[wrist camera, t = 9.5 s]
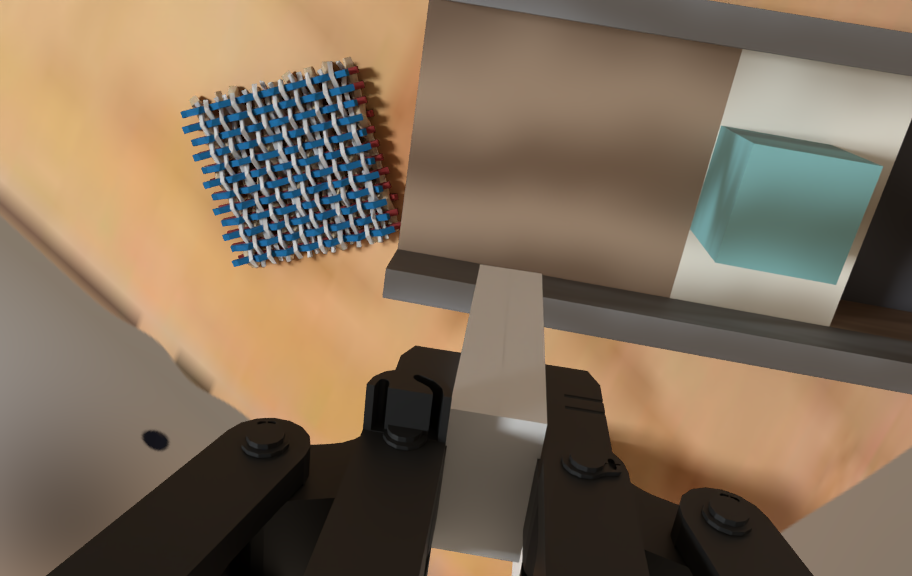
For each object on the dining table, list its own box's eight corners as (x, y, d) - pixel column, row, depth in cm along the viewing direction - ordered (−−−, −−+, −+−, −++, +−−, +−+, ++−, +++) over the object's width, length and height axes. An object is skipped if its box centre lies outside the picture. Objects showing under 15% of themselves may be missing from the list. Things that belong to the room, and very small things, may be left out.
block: (721, 125, 31) (753, 143, 27) (831, 144, 31) (883, 166, 26) (689, 228, 33) (715, 262, 28) (793, 247, 33) (835, 285, 28)
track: (447, -31, 35) (423, -46, 27) (1092, 73, 33) (1253, 88, 26) (410, 246, 40) (382, 297, 33) (961, 345, 39) (1062, 421, 31)
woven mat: (411, 232, 40) (405, 242, 39) (248, 266, 42) (235, 277, 41) (361, 51, 37) (352, 53, 35) (186, 97, 39) (169, 101, 37)
